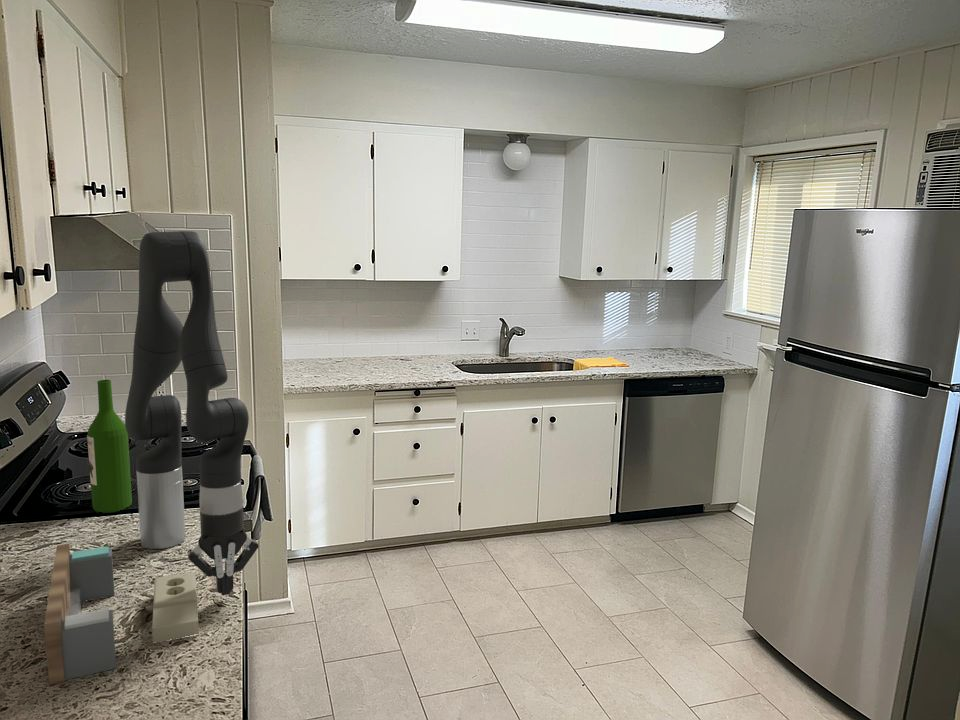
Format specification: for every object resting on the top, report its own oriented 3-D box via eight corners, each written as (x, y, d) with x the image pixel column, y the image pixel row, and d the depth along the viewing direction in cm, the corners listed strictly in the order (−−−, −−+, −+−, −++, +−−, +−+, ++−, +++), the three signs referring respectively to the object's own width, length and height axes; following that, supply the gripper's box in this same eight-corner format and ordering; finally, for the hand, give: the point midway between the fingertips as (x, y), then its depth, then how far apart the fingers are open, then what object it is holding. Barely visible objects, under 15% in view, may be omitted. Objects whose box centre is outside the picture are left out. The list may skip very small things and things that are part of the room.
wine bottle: (87, 506, 179) (78, 380, 174) (125, 497, 185) (117, 376, 180) (99, 516, 173) (89, 385, 168) (137, 507, 179) (129, 381, 174)
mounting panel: (61, 595, 134) (56, 545, 133) (73, 592, 135) (69, 543, 134) (49, 685, 107) (44, 624, 106) (64, 681, 108) (59, 621, 106)
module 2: (66, 666, 112) (61, 615, 111) (115, 655, 115) (112, 606, 114) (64, 680, 108) (60, 628, 107) (115, 668, 112) (112, 617, 110)
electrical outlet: (151, 623, 118) (154, 576, 134) (153, 646, 119) (155, 596, 135) (197, 615, 121) (195, 570, 137) (199, 637, 122) (196, 590, 138)
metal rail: (72, 603, 131) (70, 585, 131) (81, 601, 132) (80, 584, 131) (66, 666, 112) (64, 645, 111) (76, 663, 113) (75, 643, 112)
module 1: (73, 594, 135) (69, 551, 133) (114, 586, 138) (111, 544, 137) (72, 603, 131) (68, 560, 130) (114, 595, 134) (111, 553, 133)
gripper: (254, 494, 137) (257, 578, 139) (180, 504, 131) (185, 592, 133) (262, 507, 130) (265, 594, 133) (185, 518, 124) (189, 610, 127)
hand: (225, 593), depth 133 cm, fingers closed
